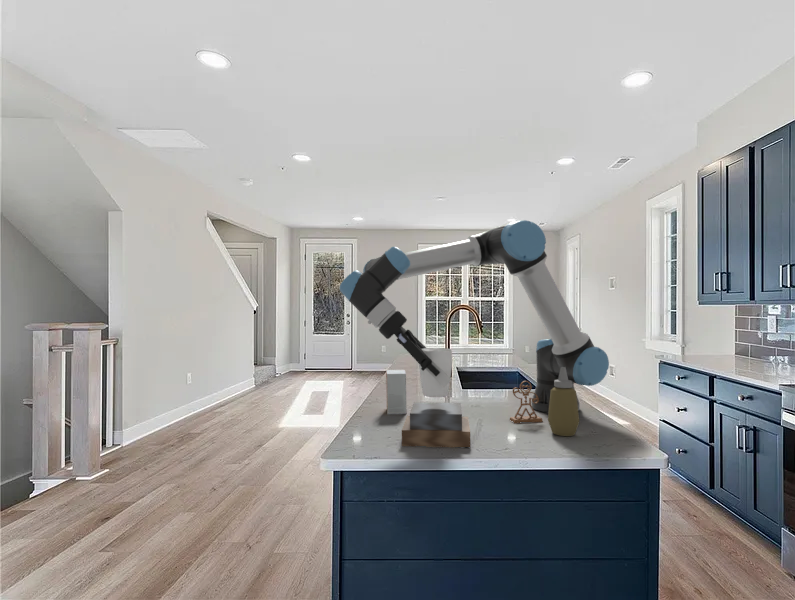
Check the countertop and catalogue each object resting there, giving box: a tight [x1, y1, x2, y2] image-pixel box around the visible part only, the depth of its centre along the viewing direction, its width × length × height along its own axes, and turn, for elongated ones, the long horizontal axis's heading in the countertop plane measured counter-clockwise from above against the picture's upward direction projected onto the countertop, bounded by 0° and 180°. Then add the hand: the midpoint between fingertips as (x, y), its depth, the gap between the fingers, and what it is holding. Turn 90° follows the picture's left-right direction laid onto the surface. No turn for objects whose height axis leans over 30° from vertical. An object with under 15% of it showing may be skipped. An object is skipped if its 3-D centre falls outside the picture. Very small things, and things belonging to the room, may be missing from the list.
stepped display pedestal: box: [401, 401, 471, 448], centre depth 128 cm, size 17×15×8 cm
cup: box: [418, 347, 453, 398], centre depth 128 cm, size 9×9×12 cm
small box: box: [385, 369, 408, 415], centre depth 159 cm, size 8×6×13 cm
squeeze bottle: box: [547, 367, 580, 437], centre depth 132 cm, size 8×8×18 cm
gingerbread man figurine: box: [509, 380, 543, 424], centre depth 145 cm, size 9×4×12 cm, turn 100°
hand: (447, 380), depth 128 cm, fingers closed on cup, 9 cm apart
